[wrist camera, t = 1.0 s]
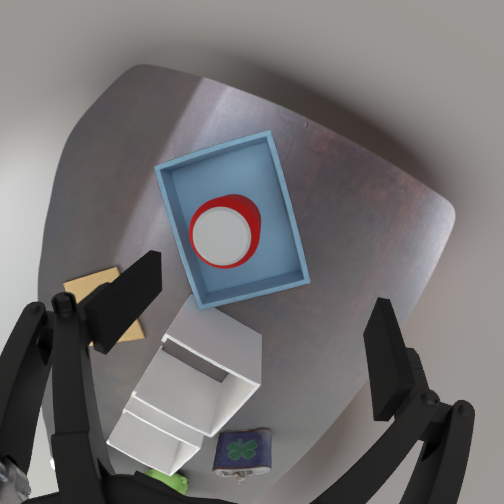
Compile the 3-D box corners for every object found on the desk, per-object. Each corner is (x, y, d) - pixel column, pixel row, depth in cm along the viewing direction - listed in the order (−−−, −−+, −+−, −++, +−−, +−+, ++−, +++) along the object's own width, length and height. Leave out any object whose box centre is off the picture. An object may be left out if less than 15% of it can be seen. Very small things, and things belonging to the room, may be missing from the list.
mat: (64, 282, 38) (63, 283, 38) (117, 266, 37) (116, 267, 37) (91, 344, 41) (90, 346, 40) (145, 336, 39) (144, 338, 39)
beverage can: (228, 254, 36) (210, 287, 24) (200, 211, 35) (169, 224, 23) (271, 228, 35) (274, 250, 23) (243, 183, 34) (232, 183, 22)
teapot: (195, 468, 47) (188, 499, 38) (192, 490, 49) (186, 517, 41) (143, 454, 47) (132, 483, 38) (146, 478, 49) (137, 503, 41)
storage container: (184, 430, 44) (170, 476, 33) (129, 400, 43) (106, 442, 32) (261, 334, 39) (260, 385, 28) (190, 293, 38) (165, 332, 27)
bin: (165, 168, 34) (153, 166, 30) (269, 136, 33) (270, 129, 29) (205, 297, 38) (199, 310, 34) (305, 272, 36) (310, 283, 32)
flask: (270, 426, 43) (270, 475, 32) (272, 436, 43) (273, 484, 33) (217, 430, 43) (208, 477, 33) (221, 440, 44) (213, 486, 34)
